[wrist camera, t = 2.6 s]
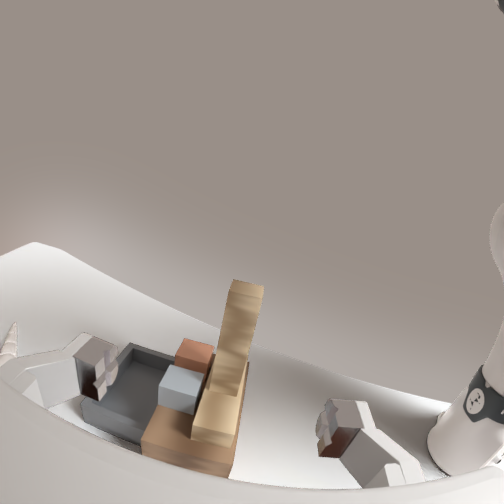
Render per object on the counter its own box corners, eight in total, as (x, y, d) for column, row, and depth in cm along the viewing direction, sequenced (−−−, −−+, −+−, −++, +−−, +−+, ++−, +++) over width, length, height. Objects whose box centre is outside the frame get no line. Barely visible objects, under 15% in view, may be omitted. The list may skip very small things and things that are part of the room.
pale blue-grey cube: (201, 392, 31) (204, 373, 31) (193, 415, 27) (196, 396, 27) (168, 383, 31) (170, 364, 31) (157, 404, 28) (158, 385, 27)
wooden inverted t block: (244, 369, 37) (270, 270, 34) (230, 448, 24) (265, 330, 20) (215, 362, 38) (235, 262, 34) (190, 439, 24) (210, 317, 20)
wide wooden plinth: (241, 391, 41) (249, 362, 39) (223, 489, 24) (232, 464, 22) (183, 377, 41) (187, 346, 40) (143, 467, 24) (140, 439, 22)
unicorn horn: (33, 325, 40) (30, 302, 39) (23, 430, 21) (12, 404, 20) (11, 324, 38) (7, 300, 37) (-8, 426, 19) (-22, 400, 17)
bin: (182, 376, 41) (184, 359, 40) (149, 448, 27) (148, 432, 26) (129, 359, 41) (129, 342, 40) (84, 421, 27) (80, 403, 26)
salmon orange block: (210, 363, 37) (214, 346, 36) (204, 382, 33) (207, 363, 32) (182, 356, 37) (184, 338, 36) (173, 373, 33) (175, 354, 33)
